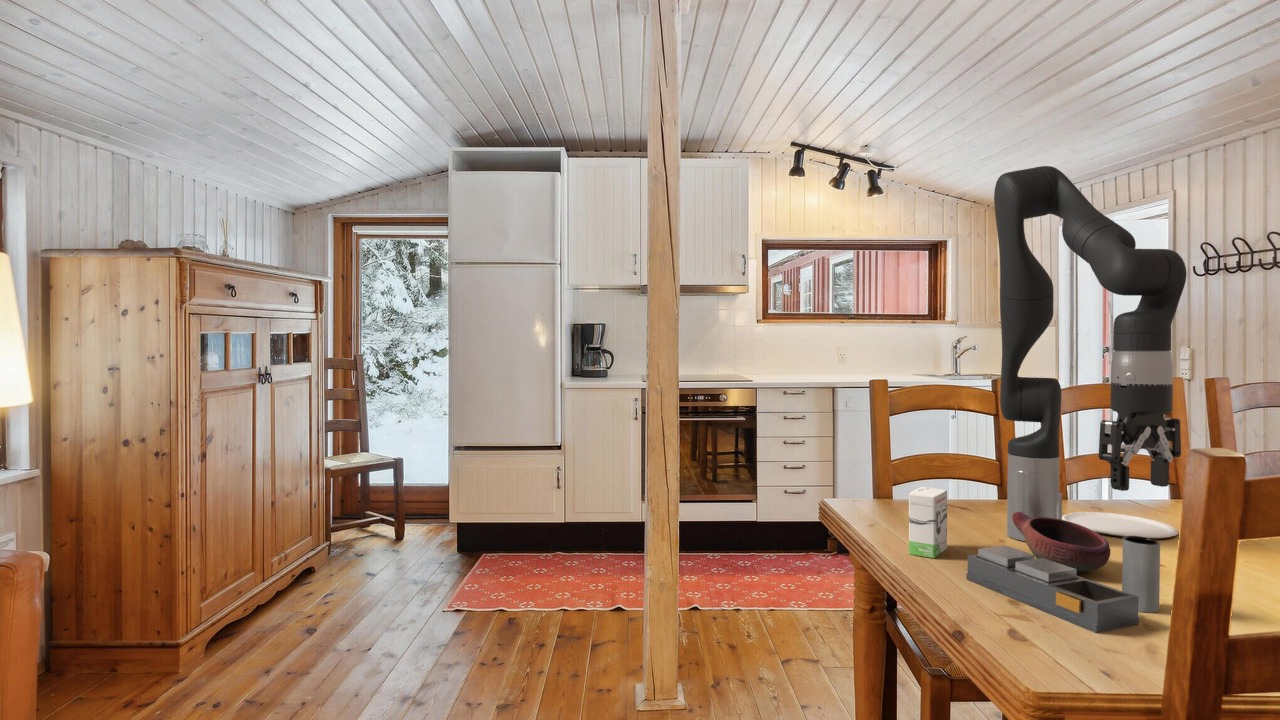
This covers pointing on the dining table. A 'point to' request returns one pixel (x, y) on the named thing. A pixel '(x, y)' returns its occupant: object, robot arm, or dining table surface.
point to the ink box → (927, 521)
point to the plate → (1121, 525)
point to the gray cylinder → (1142, 571)
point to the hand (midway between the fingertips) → (1139, 487)
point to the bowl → (1063, 542)
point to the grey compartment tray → (1052, 589)
